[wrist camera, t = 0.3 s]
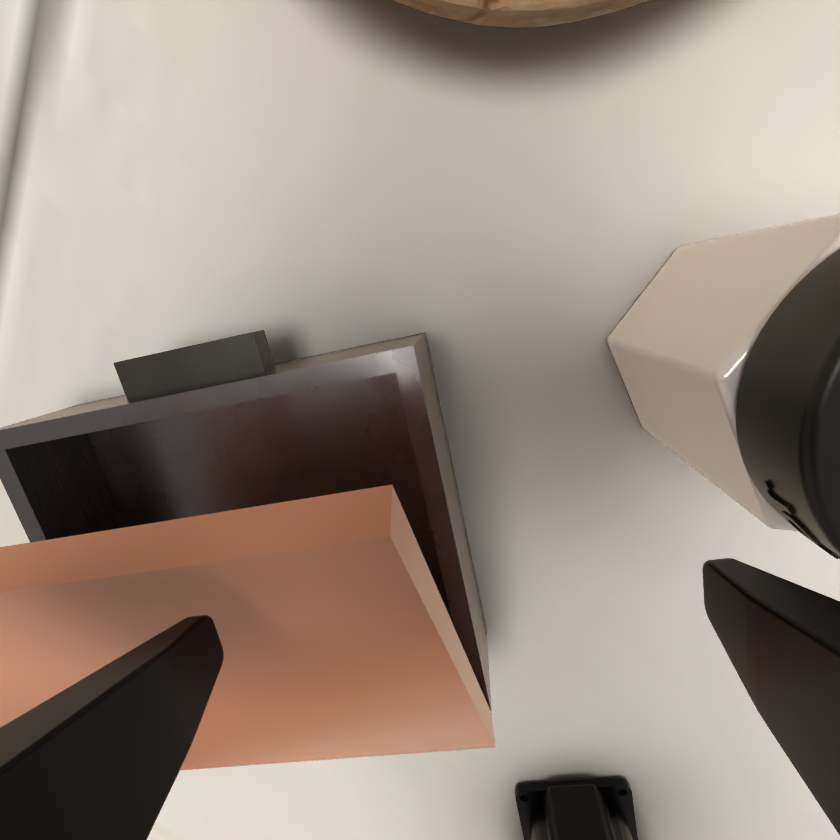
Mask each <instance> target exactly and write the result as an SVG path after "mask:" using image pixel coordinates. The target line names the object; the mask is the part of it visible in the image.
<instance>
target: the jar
mask: <svg viewBox="0 0 840 840" xmlns="http://www.w3.org/2000/svg"><path fill="white" fill-rule="evenodd" d="M607 342H608V345H609V347H610V350H611V352H612V354H613V357H614V359H615V362H616V364H617V367H618V369H619V371H620V374H621V376H622V379H623V381H624V384H625V386H626V389H627V391H628V393H629V396H630V398H631V401H632V403H633V406H634V408H635V411H636V413H637V416H638V418H639V421H640V423H641V425H642V427H643V429H644V430H646V431H647V432H648V433H649V434H651V435H652V436H653V437H654V438H656V439H657V440H658V441H660V442H661V443H662V444H663V445H665V446H666V447H667V448H668V449H670V450H671V451H672V452H674V453H675V454H676V455H677V456H679V457H680V458H681V459H682V460H684V461H685V462H686V463H688V464H689V465H690V466H691V467H693V468H694V469H695V470H696V471H698V472H699V473H700V474H702V475H703V476H704V477H705V478H707V479H708V480H709V481H710V482H712V483H713V484H714V485H716V486H717V487H718V488H719V489H721V490H722V491H723V492H724V493H726V494H727V495H728V496H730V497H731V498H732V499H733V500H735V501H736V502H737V503H738V504H740V505H741V506H742V507H744V508H745V509H746V510H747V511H749V512H750V513H751V514H753V515H754V516H755V517H756V518H758V519H759V520H760V521H761V522H763V523H764V524H765V525H767V526H768V527H770V528H772V529H779V530H790V531H799V532H800V533H802V534H803V535H804V536H806V537H807V538H808V539H810V540H811V541H812V542H814V543H815V544H817V545H818V546H819V547H821V548H822V549H823V550H825V551H826V552H828V553H829V554H830V555H832V556H833V557H835V558H836V559H838V558H839V559H840V214H835V215H830V216H825V217H820V218H815V219H810V220H805V221H800V222H795V223H790V224H785V225H780V226H775V227H771V228H766V229H761V230H756V231H751V232H746V233H741V234H736V235H731V236H726V237H721V238H716V239H711V240H706V241H702V242H697V243H692V244H687V245H682V246H680V247H678V248H677V249H676V250H675V252H674V253H673V254H672V255H671V257H670V258H669V259H668V261H667V262H666V263H665V264H664V266H663V267H662V268H661V270H660V271H659V272H658V273H657V275H656V276H655V277H654V279H653V280H652V281H651V282H650V284H649V285H648V286H647V288H646V289H645V290H644V291H643V293H642V294H641V295H640V297H639V298H638V299H637V300H636V302H635V303H634V304H633V306H632V307H631V308H630V309H629V311H628V312H627V313H626V315H625V316H624V317H623V318H622V320H621V321H620V322H619V323H618V325H617V326H616V327H615V329H614V330H613V331H612V332H611V334H610V335H609V336H608V339H607Z"/></svg>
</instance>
